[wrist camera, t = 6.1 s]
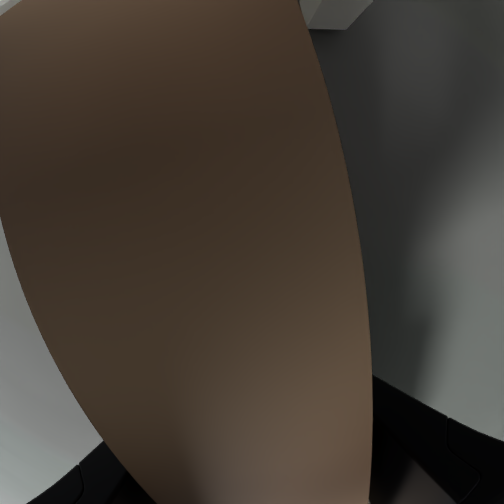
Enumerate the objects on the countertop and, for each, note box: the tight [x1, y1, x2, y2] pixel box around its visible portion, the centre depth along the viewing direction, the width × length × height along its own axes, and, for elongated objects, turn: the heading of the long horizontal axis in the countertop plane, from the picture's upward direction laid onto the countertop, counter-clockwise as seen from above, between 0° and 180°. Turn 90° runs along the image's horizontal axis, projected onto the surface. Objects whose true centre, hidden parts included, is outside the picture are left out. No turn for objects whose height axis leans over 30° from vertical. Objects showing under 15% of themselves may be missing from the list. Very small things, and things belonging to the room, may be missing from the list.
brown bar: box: [0, 0, 373, 504], centre depth 6 cm, size 16×4×5 cm, turn 13°
